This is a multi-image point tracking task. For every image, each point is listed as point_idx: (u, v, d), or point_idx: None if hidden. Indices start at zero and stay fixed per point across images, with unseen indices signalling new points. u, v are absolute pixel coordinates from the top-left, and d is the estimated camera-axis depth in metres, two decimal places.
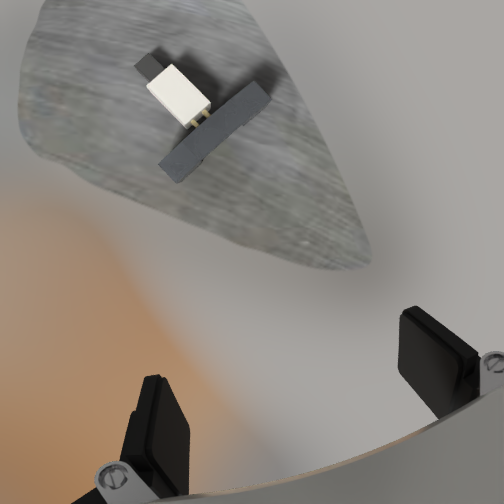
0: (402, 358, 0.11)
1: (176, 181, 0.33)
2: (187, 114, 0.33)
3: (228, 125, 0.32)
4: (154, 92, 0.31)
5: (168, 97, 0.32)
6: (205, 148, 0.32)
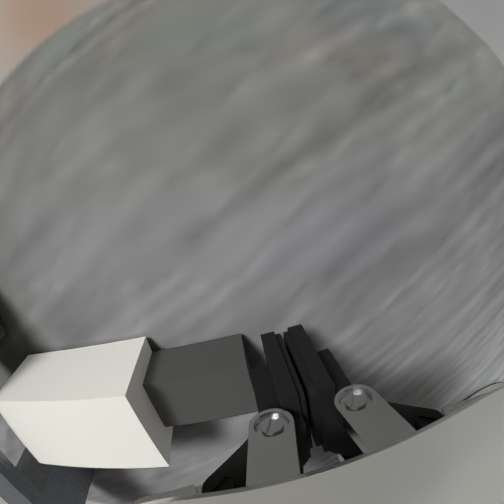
0: None
1: None
2: (15, 421, 0.09)
3: None
4: (92, 403, 0.09)
5: (65, 418, 0.09)
6: None
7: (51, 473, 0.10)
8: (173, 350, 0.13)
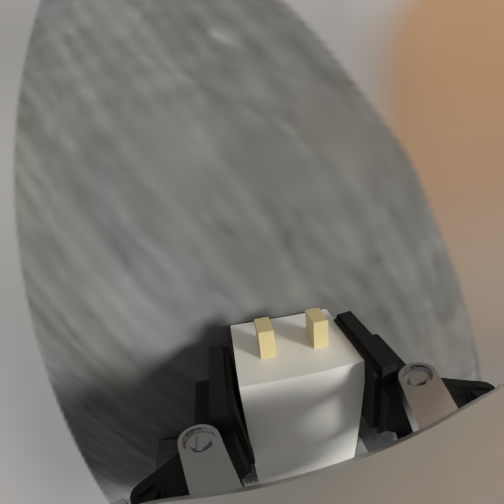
0: None
1: None
2: (333, 386, 0.09)
3: None
4: None
5: (336, 444, 0.10)
6: None
7: None
8: None
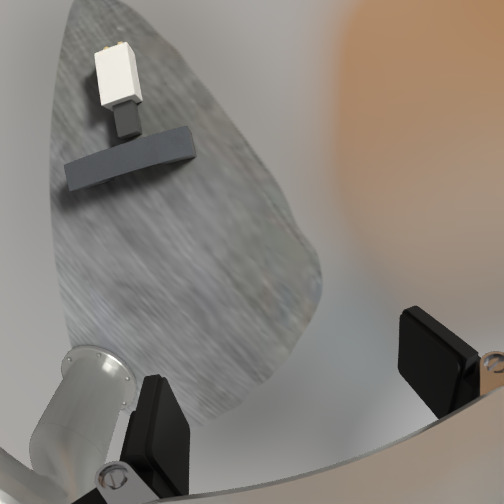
0: (402, 358, 0.11)
1: (185, 127, 0.29)
2: (118, 50, 0.27)
3: (110, 156, 0.28)
4: (131, 83, 0.28)
5: (123, 72, 0.28)
6: (141, 144, 0.29)
7: (104, 181, 0.31)
8: (137, 110, 0.33)
